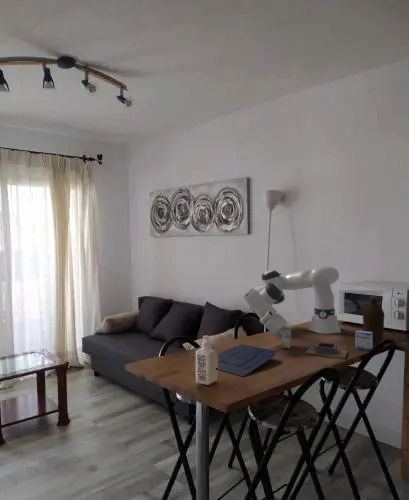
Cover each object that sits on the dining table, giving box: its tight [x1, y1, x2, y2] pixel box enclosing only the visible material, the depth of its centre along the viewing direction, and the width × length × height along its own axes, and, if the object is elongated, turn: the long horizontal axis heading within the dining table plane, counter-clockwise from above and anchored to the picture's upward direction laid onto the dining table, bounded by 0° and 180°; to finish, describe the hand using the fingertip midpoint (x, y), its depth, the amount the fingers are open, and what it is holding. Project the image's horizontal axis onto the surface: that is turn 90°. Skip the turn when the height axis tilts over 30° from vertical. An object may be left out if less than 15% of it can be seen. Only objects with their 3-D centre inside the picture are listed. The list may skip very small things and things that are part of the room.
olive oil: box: [362, 295, 385, 346], centre depth 213 cm, size 11×11×25 cm
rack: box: [304, 342, 348, 360], centre depth 193 cm, size 12×18×4 cm, turn 65°
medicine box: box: [354, 330, 374, 351], centre depth 202 cm, size 8×4×9 cm, turn 62°
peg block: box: [280, 325, 292, 349], centre depth 203 cm, size 4×4×10 cm
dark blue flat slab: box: [217, 343, 279, 377], centre depth 180 cm, size 24×30×4 cm
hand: (287, 335), depth 203 cm, fingers closed on peg block, 4 cm apart
